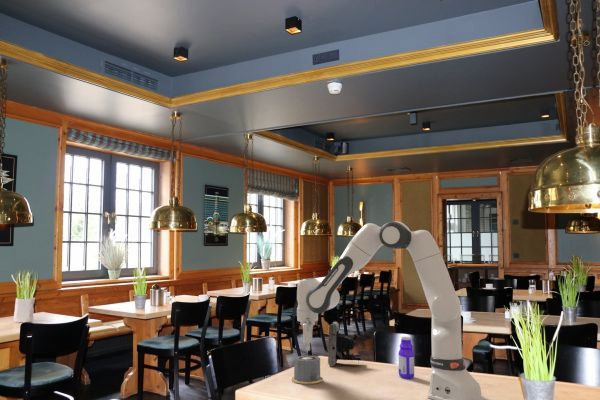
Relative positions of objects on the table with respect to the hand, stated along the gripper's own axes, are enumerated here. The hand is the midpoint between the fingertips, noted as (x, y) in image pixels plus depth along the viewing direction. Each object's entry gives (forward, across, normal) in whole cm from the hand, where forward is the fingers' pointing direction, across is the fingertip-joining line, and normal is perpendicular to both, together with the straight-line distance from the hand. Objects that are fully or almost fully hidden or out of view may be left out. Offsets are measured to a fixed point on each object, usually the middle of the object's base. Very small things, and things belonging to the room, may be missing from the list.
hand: (308, 350), depth 219 cm
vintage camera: (+13, +29, -18) cm, 36 cm away
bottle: (+13, +6, -42) cm, 45 cm away
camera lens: (+8, 0, 0) cm, 8 cm away
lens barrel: (+12, 0, 0) cm, 12 cm away
